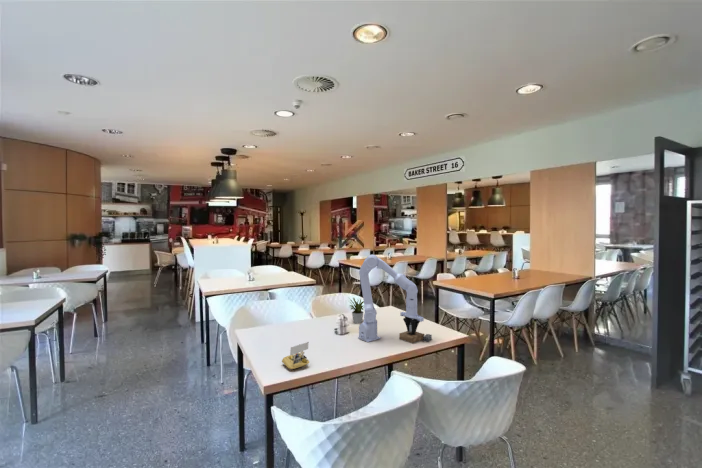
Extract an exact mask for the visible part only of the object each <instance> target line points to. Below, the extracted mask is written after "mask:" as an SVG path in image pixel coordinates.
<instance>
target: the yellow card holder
mask: <svg viewBox="0 0 702 468" xmlns="http://www.w3.org/2000/svg"><path fill="white" fill-rule="evenodd" d="M306 350H309V341H306V342H305V343H304V342H303V343H301V344H297V345H294V346H290V350H289V351H290V352H289V355H287V356H286V355H285V357H283V358H282V360H281V362H282V364H284V366H286V368H287V369H291V370H293V369H294V370H295V369H298V368H301V367H305V366H307V365H308V364H310V361H309V359H308V358H307V356H306V355H305V351H306Z"/></svg>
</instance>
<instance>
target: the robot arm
mask: <svg viewBox="0 0 702 468" xmlns="http://www.w3.org/2000/svg"><path fill="white" fill-rule="evenodd" d="M375 268H376V269H378V270H379V269H380V270H381V269H382V270H383V271H384V272H386V273H387V274H388V275H389V276H390V277H392V278H393V281H394V283H395V284H396V285H397V286H399V288H401V289H402V290H404V291H406V297H405V311H400V315H399V317H403V320H402V321H404V324H405V326H406V331H408V332H409V324H410V322H411V326H412V333H416V332H417V330H418V326H419V324H420V323H422V322H424V321H425V318H424V316H421V315H419V314H418V292H419V290H418V287H417V285H416V284H415V282H413V281H412V280H410V279H408V278H407V276H406V274H405V273H401V272H399V273H398V272H397V271H396V270H395V269H393V268H392V267H391V266H390V265H389V264H388V263H386V261H384V260H383V259H381V257H378V256H377V255H376V254H369V255H368V256H367V257H366V258H365V259H364V261H363V262H362V264H361V267H360V268H359V270H358V271H359V272H358V275H359V281H360V285H361V292H362V297H363V299H362V300H363V301H364V303H363V304H364V305H363V307H364V308H363V310H364V313H363V321H362V323H359V324H358V337H357V339H358V340H361V341H364V342H367V343H369V342H372V341H376V340H379V339H381V336H379V335H378V320H377V314H378V313H377V310H376V308H375V306H374V300H373V295H372V290H371V289H372V288H371V283H370V277H369V274H370V272H371V271H372V270H373V269H375Z"/></svg>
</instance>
